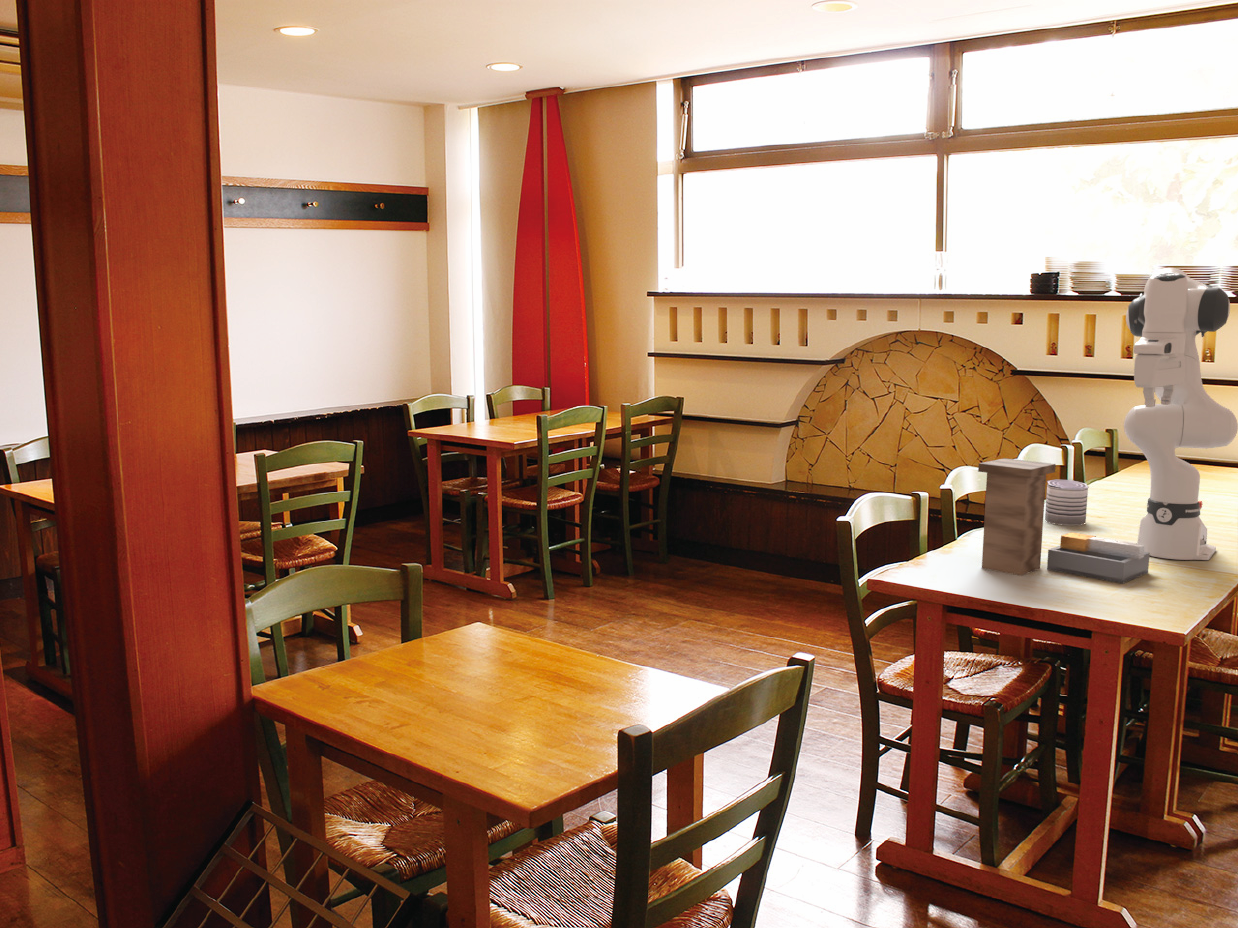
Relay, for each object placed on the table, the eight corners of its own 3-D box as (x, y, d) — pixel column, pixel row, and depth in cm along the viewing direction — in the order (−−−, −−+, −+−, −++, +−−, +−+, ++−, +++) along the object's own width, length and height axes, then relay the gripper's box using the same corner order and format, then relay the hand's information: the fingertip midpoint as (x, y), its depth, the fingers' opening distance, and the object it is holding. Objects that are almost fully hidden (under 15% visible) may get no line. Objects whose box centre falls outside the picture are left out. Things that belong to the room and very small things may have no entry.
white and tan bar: (1060, 547, 259) (1061, 535, 259) (1070, 543, 263) (1071, 532, 263) (1136, 560, 246) (1137, 547, 246) (1146, 556, 251) (1147, 543, 250)
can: (1080, 519, 320) (1083, 480, 318) (1090, 526, 309) (1093, 486, 307) (1040, 517, 322) (1043, 478, 320) (1049, 525, 311) (1051, 485, 309)
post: (998, 559, 268) (1004, 458, 264) (1048, 568, 259) (1055, 464, 255) (973, 567, 259) (978, 463, 256) (1023, 577, 250) (1030, 469, 246)
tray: (1074, 559, 268) (1075, 540, 267) (1148, 572, 255) (1149, 552, 254) (1047, 569, 258) (1048, 549, 257) (1122, 583, 245) (1124, 562, 244)
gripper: (1165, 343, 250) (1161, 402, 252) (1130, 346, 236) (1125, 407, 238) (1194, 344, 245) (1189, 404, 247) (1160, 346, 231) (1155, 409, 233)
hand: (1157, 405), depth 243 cm, fingers open, 8 cm apart
